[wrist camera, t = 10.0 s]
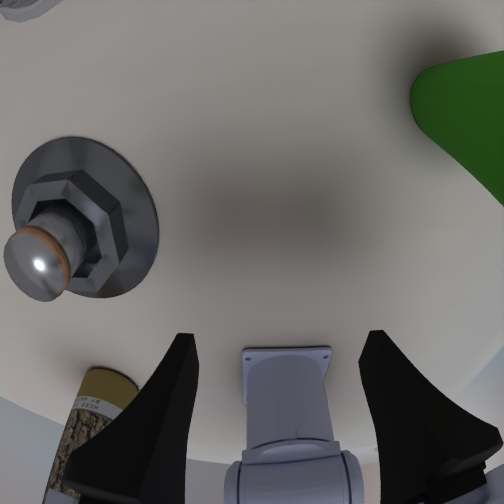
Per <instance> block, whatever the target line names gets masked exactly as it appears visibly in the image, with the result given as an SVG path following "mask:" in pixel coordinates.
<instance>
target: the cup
mask: <svg viewBox="0 0 504 504" xmlns="http://www.w3.org/2000/svg"><path fill="white" fill-rule="evenodd" d="M411 106H412V112H413V114H414V117H415V120H416V122H417V124H418V125H419V127H420V129H421V130H422V131H423V132H424V133H425V134H426V135H427V136H428V137H429V138H430V139H431V140H433V141H434V142H435V143H436V144H437V145H439V146H440V147H441V148H442V149H444V150H445V151H446V152H447V153H448V154H449V155H451V156H452V157H453V158H454V159H455V160H456V161H457V162H459V163H460V164H461V165H462V166H463V167H464V168H465V169H466V170H467V171H468V172H470V173H471V174H472V175H473V176H474V177H475V178H476V179H477V180H478V181H479V182H480V183H481V184H482V185H483V186H484V187H485V188H486V189H487V190H488V191H489V192H490V193H491V194H492V195H493V196H494V197H495V198H496V199H497V200H498V201H499V202H500V203H501V204H502V205H503V207H504V51H498V52H493V53H488V54H483V55H478V56H474V57H469V58H465V59H461V60H457V61H453V62H449V63H445V64H441V65H437V66H434V67H430V68H429V69H427V70H425V71H424V72H423V73H422V74H421V75H420V76H419V77H418V79H417V80H416V82H415V84H414V86H413V90H412V93H411Z"/></svg>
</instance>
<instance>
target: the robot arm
mask: <svg viewBox="0 0 504 504" xmlns="http://www.w3.org/2000/svg"><path fill="white" fill-rule="evenodd" d="M325 355H326V356H325ZM331 355H332V350H331V348H329V347H320V348H294V349H246V350H244V351H243V352H242V360H243V397H244V405H246V406H247V448H246V450H243V451H242V461H235V462H233V464H232V465H231V466H230V467H229V468H228V469H227V472H226V475H225V481H224V504H364V484H363V478H362V472H361V468H360V464H359V462H358V459H357V458H356V456H355V455H353V454H352V453H351V452H350V451H348V450H343V451H341V450H340V444H339V441H334V436H333V430H332V424H331V418H330V413H329V407H328V401H327V396H326V391H325V385H324V378H325V375H326V372H327V368H328V365H329V362H330V358H331ZM247 357H249V358H247ZM358 363H359V369H360V375H361V381H362V385H363V389H364V392H365V395H366V399H367V402H368V406H369V409H370V412H371V416H372V419H373V423H374V427H375V432H376V438H377V445H378V453H379V463H380V480H381V501H380V504H504V464H502V465H500V466H499V467H497V468H495V469H493V470H491V471H489V472H488V473H486V474H484V471H483V470H484V469H485V468H486V464H485V461H486V460H487V459H488V458H490V457H491V456H492V455H493V454H495V453H496V452H497V451H498V450H500V449H501V448H502V446H503V441H502V438H501V436H500V433H499V430H498V428H497V427H495V426H493V425H491V424H488V423H486V422H484V421H482V420H480V419H479V418H477V417H475V416H473V415H472V414H470V413H469V412H467V411H465V410H464V409H462V408H461V407H460V406H458V405H457V404H455V403H454V402H453V401H451V400H450V399H449V398H447V397H446V396H445V395H444V394H443V393H442V392H440V391H439V390H438V389H437V388H436V387H435V386H434V385H432V384H431V383H430V382H429V381H428V380H427V379H426V378H425V377H424V376H423V375H422V374H421V373H420V372H419V371H418V369H417V368H416V367H415V366H414V365H413V364H412V363H411V362H410V361H409V360H408V359H407V357H406V356H405V355H404V354H403V353H402V352H401V350H400V349H399V348H398V347H397V346H396V345H395V343H394V342H393V341H392V340H391V339H390V337H389V336H388V335H387V334H386V333H385V332H384V331H383V330H374V331H370V332H369V335H368V337H367V340H366V343H365V346H364V348H363V351H362V354H361V356H360V359H359V361H358ZM198 376H199V361H198V355H197V350H196V344H195V339H194V334H190V333H178V334H177V335H176V337H175V339H174V341H173V342H172V344H171V346H170V348H169V349H168V351H167V353H166V354H165V356H164V358H163V359H162V361H161V362H160V364H159V365H158V367H157V368H156V370H155V371H154V373H153V374H152V376H151V377H150V378H149V380H148V381H147V382H146V384H145V385H144V386H143V388H142V389H141V390H140V392H139V393H138V394H137V395H136V396H135V398H134V399H133V400H132V401H131V402H130V403H129V404H128V406H127V407H126V408H125V409H124V410H123V411H122V412H121V413H120V414H119V415H118V416H117V417H116V418H115V419H114V420H113V421H112V422H110V423H109V424H108V425H107V426H106V427H105V428H103V429H102V430H101V431H100V432H99V433H97V434H96V435H95V436H94V437H92V438H91V439H90V440H88V441H87V442H85V443H84V444H82V445H81V446H79V447H78V448H77V449H75V450H74V451H72V452H71V453H70V455H69V457H68V459H67V462H66V465H65V468H64V472H63V476H62V479H61V480H62V482H63V483H64V484H65V485H66V486H68V487H69V488H71V489H72V490H74V491H76V492H77V493H79V494H81V496H80V500H78V499H76V498H74V497H71V496H69V495H66V494H63V493H61V492H58V491H56V490H53V489H51V488H50V489H49V490H48V494H47V497H46V501H45V504H185V470H186V453H187V440H188V433H189V428H190V422H191V417H192V412H193V407H194V402H195V397H196V392H197V387H198Z"/></svg>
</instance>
